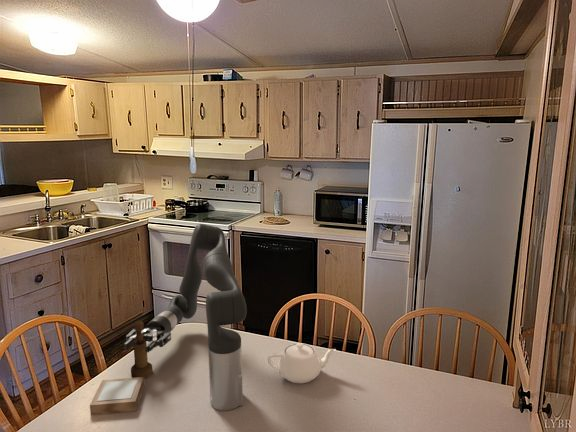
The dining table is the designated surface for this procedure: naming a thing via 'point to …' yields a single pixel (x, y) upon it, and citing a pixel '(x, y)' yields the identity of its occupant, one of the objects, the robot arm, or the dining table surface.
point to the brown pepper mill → (140, 354)
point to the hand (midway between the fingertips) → (136, 348)
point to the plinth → (117, 396)
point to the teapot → (300, 362)
